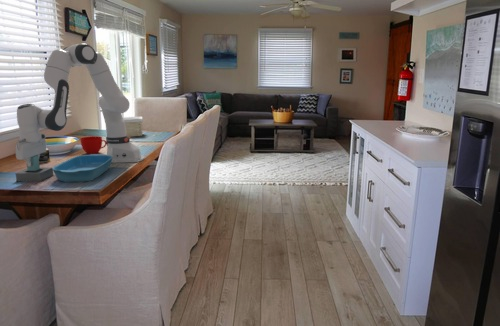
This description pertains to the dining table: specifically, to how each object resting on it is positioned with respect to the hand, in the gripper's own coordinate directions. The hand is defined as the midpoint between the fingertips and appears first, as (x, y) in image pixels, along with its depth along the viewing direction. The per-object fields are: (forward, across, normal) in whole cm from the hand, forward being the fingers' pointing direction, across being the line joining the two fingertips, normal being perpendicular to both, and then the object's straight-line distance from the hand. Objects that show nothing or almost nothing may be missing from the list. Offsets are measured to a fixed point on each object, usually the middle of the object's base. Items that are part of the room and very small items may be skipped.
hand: (33, 164), depth 202 cm
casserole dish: (+7, +9, -22) cm, 25 cm away
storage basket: (+7, +129, -1) cm, 129 cm away
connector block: (+3, 0, 0) cm, 3 cm away
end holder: (+7, 0, 0) cm, 7 cm away
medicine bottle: (+7, +37, +18) cm, 42 cm away
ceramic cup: (+7, +60, -4) cm, 61 cm away
